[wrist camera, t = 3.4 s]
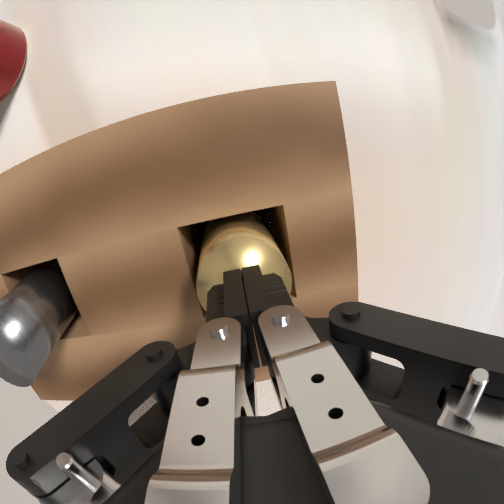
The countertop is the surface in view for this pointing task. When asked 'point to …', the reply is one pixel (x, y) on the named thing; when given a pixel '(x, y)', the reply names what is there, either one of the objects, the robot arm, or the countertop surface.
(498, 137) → the countertop surface
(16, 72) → the soda can
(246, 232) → the brass peg
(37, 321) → the graphite peg
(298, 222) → the socket block
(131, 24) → the countertop surface
